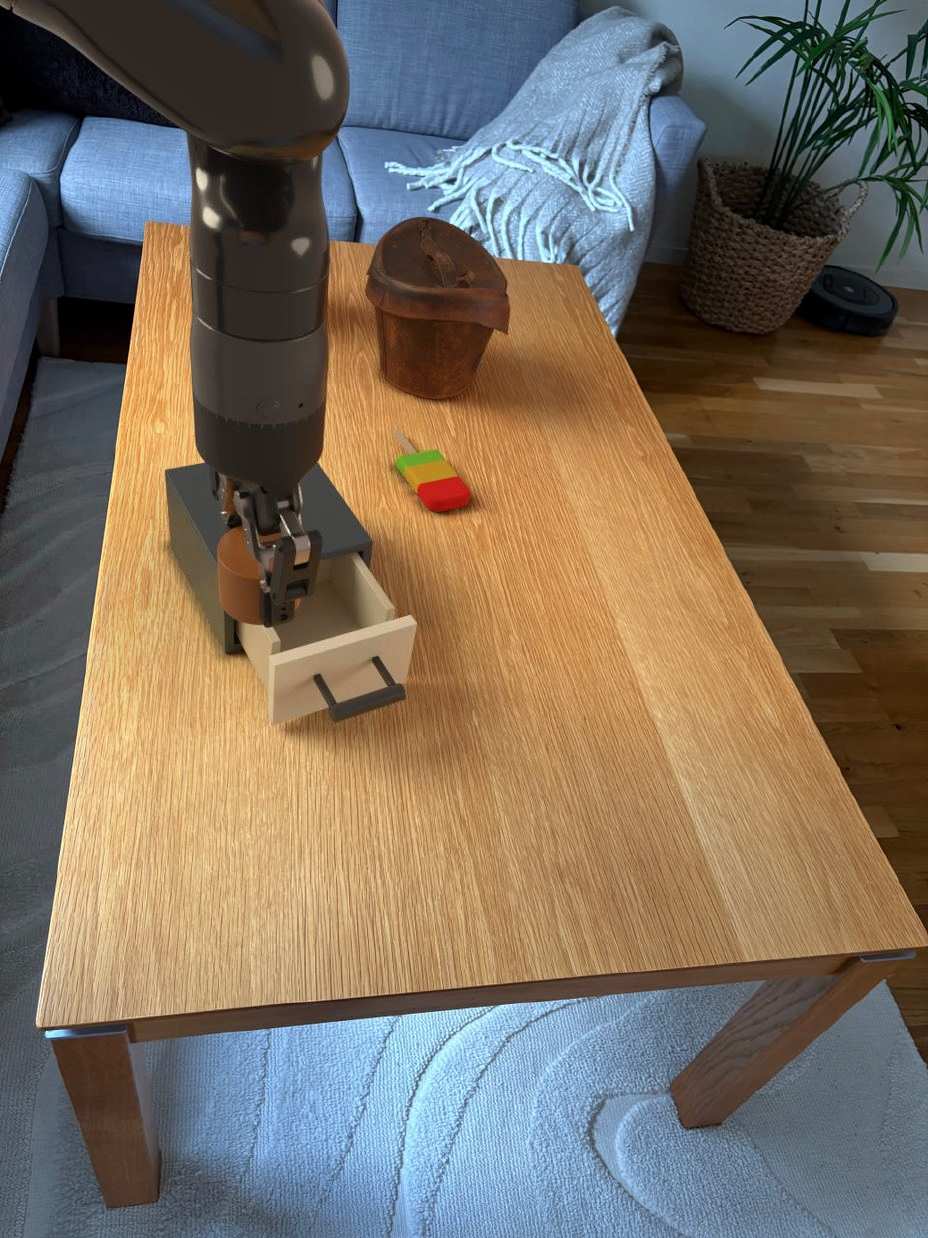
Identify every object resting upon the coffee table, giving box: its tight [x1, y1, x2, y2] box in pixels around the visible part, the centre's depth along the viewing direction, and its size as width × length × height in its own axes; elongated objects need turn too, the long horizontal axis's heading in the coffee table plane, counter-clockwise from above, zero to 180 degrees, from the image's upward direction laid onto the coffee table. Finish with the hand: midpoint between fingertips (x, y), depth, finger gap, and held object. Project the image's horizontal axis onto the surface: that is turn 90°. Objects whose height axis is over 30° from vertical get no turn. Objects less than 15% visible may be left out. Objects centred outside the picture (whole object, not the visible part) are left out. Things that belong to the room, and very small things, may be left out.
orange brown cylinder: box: [217, 525, 301, 625], centre depth 63 cm, size 6×6×4 cm
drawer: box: [234, 552, 418, 726], centre depth 83 cm, size 20×13×8 cm
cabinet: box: [164, 461, 374, 655], centre depth 90 cm, size 16×14×10 cm
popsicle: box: [392, 429, 471, 513], centre depth 110 cm, size 6×15×2 cm, turn 29°
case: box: [364, 216, 511, 400], centre depth 119 cm, size 18×20×18 cm
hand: (259, 590), depth 64 cm, fingers closed on orange brown cylinder, 5 cm apart
